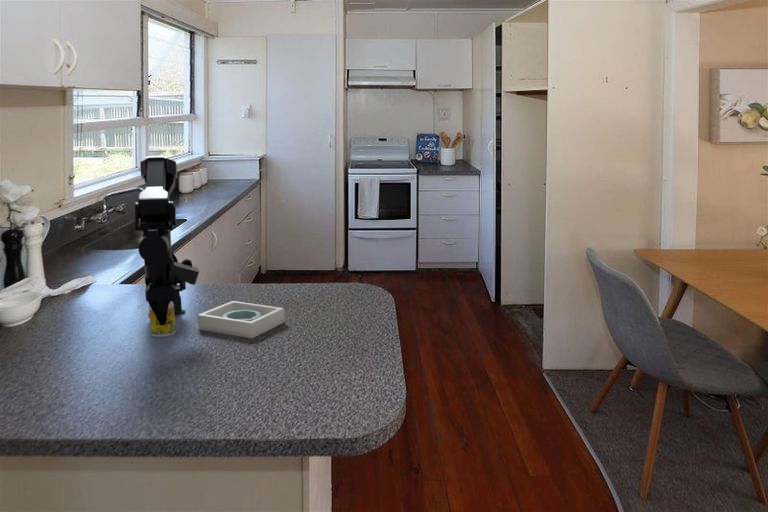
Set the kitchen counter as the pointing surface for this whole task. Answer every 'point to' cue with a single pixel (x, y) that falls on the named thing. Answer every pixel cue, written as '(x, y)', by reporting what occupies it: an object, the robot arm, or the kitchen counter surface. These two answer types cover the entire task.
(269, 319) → the socket box
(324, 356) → the kitchen counter surface
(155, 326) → the supplement bottle
